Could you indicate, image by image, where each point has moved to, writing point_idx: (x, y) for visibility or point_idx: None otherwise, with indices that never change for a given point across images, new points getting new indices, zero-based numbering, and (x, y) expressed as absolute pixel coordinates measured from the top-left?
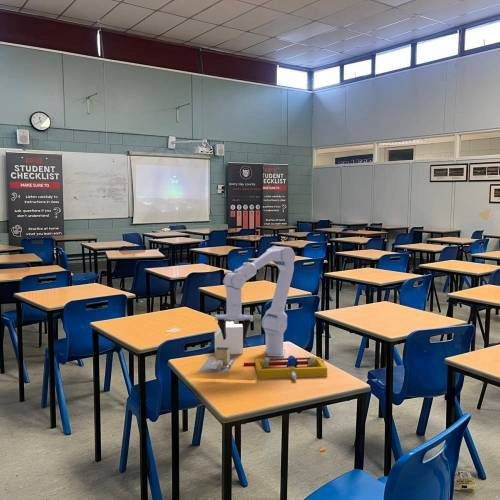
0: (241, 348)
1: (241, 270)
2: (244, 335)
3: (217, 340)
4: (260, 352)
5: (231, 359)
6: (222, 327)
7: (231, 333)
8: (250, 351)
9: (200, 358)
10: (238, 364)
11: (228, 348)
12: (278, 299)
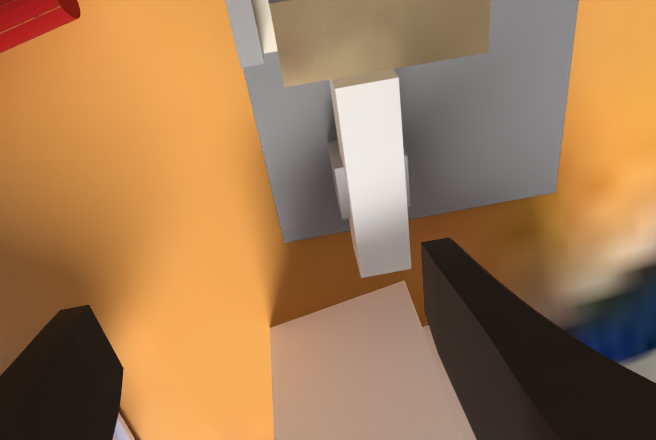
0: (285, 377)
1: None
2: (15, 368)
3: None
4: (174, 429)
5: (309, 167)
6: (579, 403)
7: None
8: (259, 425)
9: (629, 172)
10: (205, 103)
11: (277, 23)
12: None
